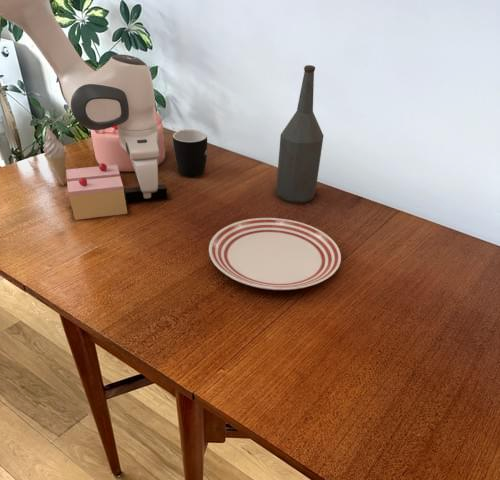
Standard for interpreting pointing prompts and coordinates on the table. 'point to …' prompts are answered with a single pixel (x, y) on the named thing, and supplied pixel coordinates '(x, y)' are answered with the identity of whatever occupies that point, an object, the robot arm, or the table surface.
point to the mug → (190, 152)
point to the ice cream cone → (55, 154)
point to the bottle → (300, 148)
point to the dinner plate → (274, 253)
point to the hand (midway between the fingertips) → (146, 193)
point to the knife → (137, 196)
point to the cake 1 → (96, 191)
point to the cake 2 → (113, 153)
